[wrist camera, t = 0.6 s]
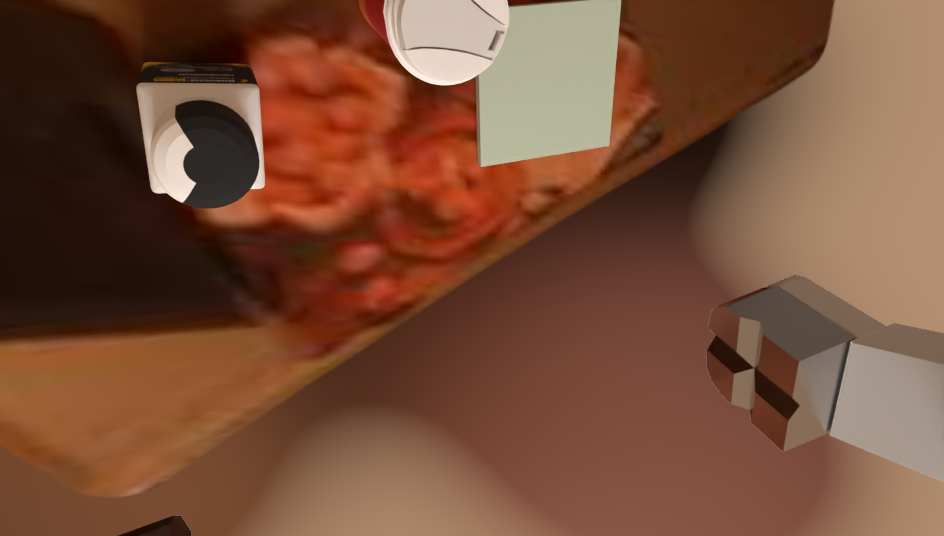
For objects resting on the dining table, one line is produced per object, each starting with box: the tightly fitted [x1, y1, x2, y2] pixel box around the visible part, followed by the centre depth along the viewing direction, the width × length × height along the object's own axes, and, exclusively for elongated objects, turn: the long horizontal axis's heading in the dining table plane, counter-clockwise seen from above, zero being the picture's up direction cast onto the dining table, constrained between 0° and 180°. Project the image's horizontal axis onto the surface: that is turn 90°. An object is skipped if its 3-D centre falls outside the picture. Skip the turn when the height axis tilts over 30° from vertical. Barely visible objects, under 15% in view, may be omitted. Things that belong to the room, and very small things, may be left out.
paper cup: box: [358, 0, 509, 85], centre depth 43 cm, size 8×8×14 cm
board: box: [476, 0, 621, 167], centre depth 56 cm, size 13×13×1 cm
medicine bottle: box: [136, 62, 265, 208], centre depth 43 cm, size 7×7×12 cm
